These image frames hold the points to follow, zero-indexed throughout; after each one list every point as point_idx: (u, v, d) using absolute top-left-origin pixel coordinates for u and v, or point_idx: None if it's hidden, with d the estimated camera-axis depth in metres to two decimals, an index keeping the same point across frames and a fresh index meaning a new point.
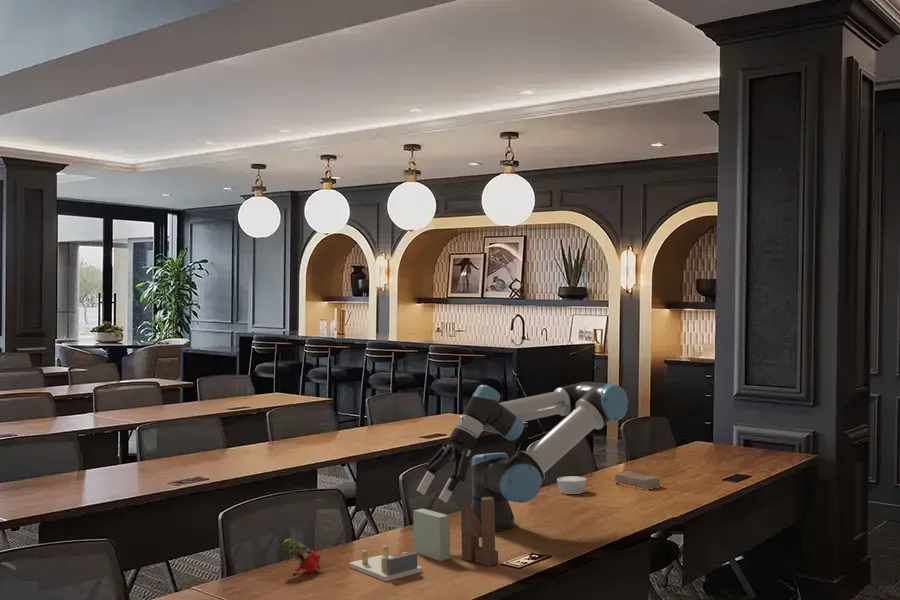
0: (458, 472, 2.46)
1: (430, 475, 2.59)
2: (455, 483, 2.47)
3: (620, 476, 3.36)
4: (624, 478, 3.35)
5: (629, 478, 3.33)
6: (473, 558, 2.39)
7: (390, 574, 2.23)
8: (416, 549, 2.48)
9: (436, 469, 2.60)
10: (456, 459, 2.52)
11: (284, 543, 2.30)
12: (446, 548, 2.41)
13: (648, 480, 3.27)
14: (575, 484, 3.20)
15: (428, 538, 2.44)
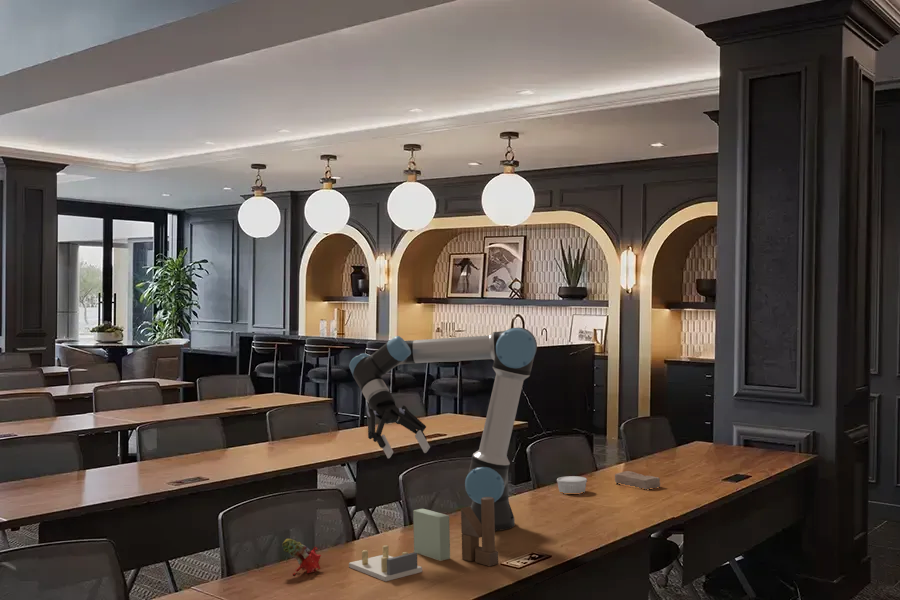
0: None
1: (417, 435, 2.61)
2: (378, 439, 2.51)
3: (620, 476, 3.36)
4: (624, 478, 3.35)
5: (629, 478, 3.33)
6: (473, 558, 2.39)
7: (390, 574, 2.23)
8: (416, 549, 2.48)
9: (414, 427, 2.62)
10: (378, 423, 2.58)
11: (284, 543, 2.30)
12: (446, 548, 2.41)
13: (648, 480, 3.27)
14: (575, 484, 3.20)
15: (428, 538, 2.44)
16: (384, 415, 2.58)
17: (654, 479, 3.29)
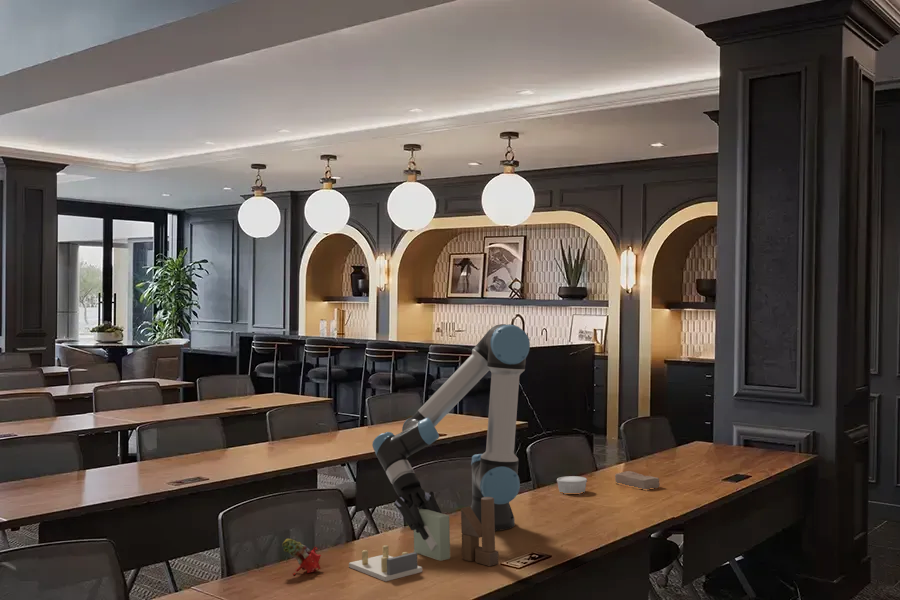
0: None
1: None
2: (420, 531, 2.43)
3: (620, 476, 3.37)
4: (624, 478, 3.35)
5: (628, 478, 3.33)
6: (473, 558, 2.39)
7: (390, 574, 2.23)
8: (416, 549, 2.48)
9: None
10: (410, 510, 2.49)
11: (284, 543, 2.30)
12: (446, 548, 2.41)
13: (646, 480, 3.27)
14: (575, 484, 3.20)
15: None
16: (414, 501, 2.48)
17: (653, 479, 3.28)
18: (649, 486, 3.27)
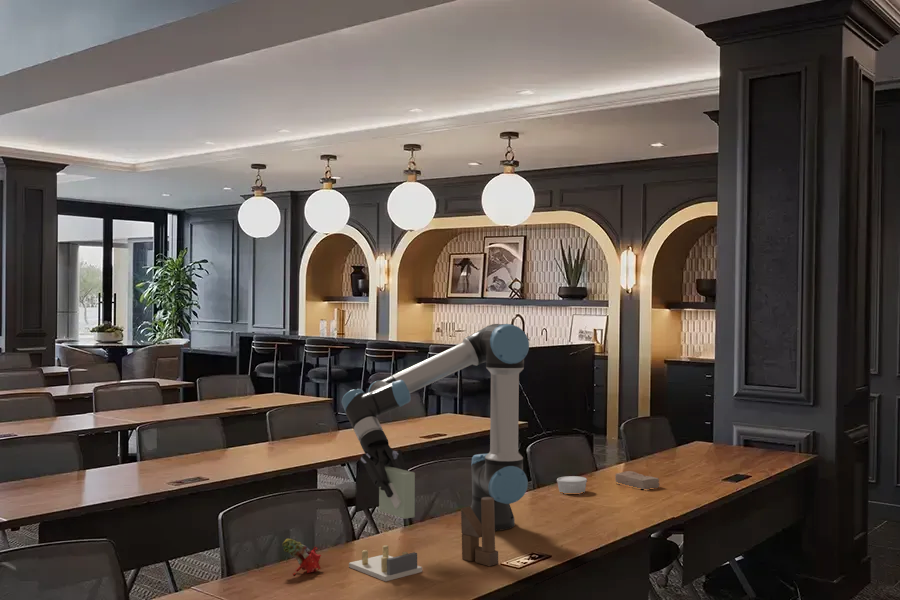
0: None
1: None
2: (385, 488, 2.36)
3: (620, 476, 3.37)
4: (624, 478, 3.35)
5: (628, 478, 3.33)
6: (473, 558, 2.39)
7: (390, 574, 2.23)
8: (381, 507, 2.41)
9: None
10: (376, 467, 2.42)
11: (284, 543, 2.30)
12: (410, 506, 2.34)
13: (646, 480, 3.26)
14: (575, 484, 3.20)
15: None
16: (380, 458, 2.41)
17: (653, 479, 3.28)
18: (648, 486, 3.27)
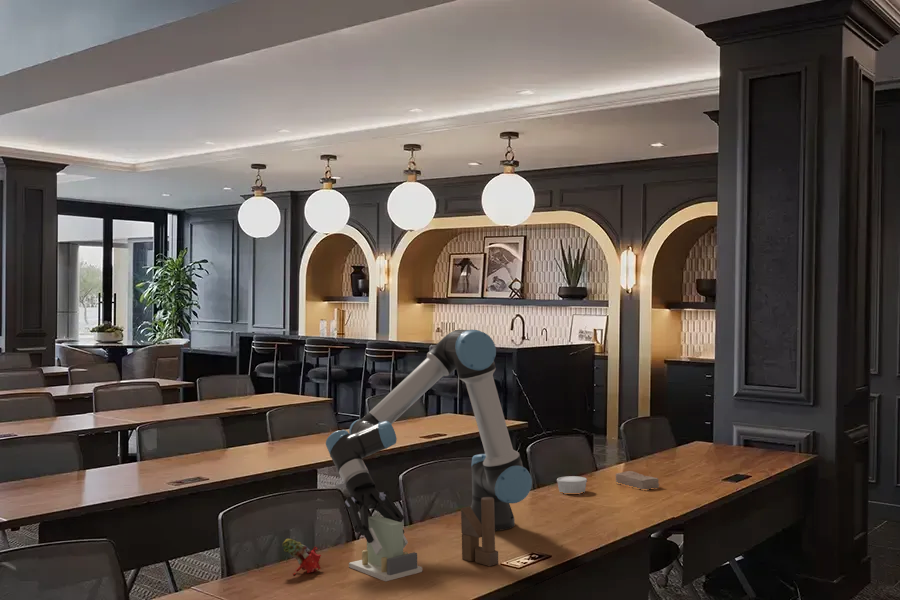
0: None
1: None
2: (365, 533, 2.29)
3: (620, 476, 3.37)
4: (624, 478, 3.35)
5: (628, 478, 3.33)
6: (473, 558, 2.39)
7: (390, 574, 2.23)
8: (369, 558, 2.35)
9: (390, 517, 2.37)
10: (360, 511, 2.36)
11: (284, 543, 2.30)
12: None
13: (645, 480, 3.26)
14: (575, 484, 3.20)
15: None
16: (365, 502, 2.35)
17: (652, 480, 3.28)
18: (648, 486, 3.27)
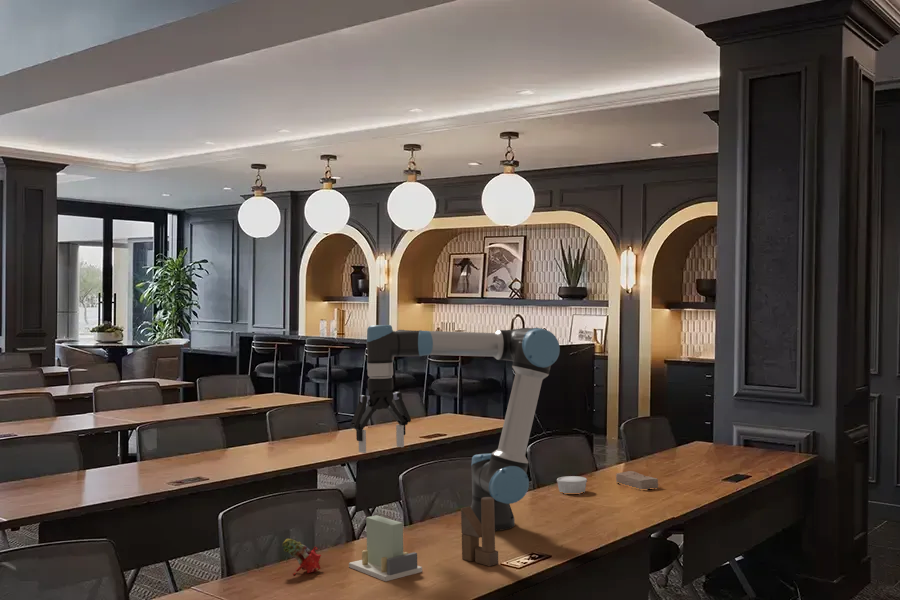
0: None
1: (398, 428, 2.59)
2: (358, 432, 2.49)
3: (620, 476, 3.37)
4: (624, 478, 3.35)
5: (627, 478, 3.33)
6: (473, 558, 2.39)
7: (390, 574, 2.23)
8: (369, 558, 2.35)
9: (398, 419, 2.58)
10: (367, 408, 2.53)
11: (284, 543, 2.30)
12: None
13: (644, 480, 3.26)
14: (575, 484, 3.20)
15: (381, 547, 2.31)
16: (375, 406, 2.52)
17: (651, 480, 3.28)
18: (646, 486, 3.26)
